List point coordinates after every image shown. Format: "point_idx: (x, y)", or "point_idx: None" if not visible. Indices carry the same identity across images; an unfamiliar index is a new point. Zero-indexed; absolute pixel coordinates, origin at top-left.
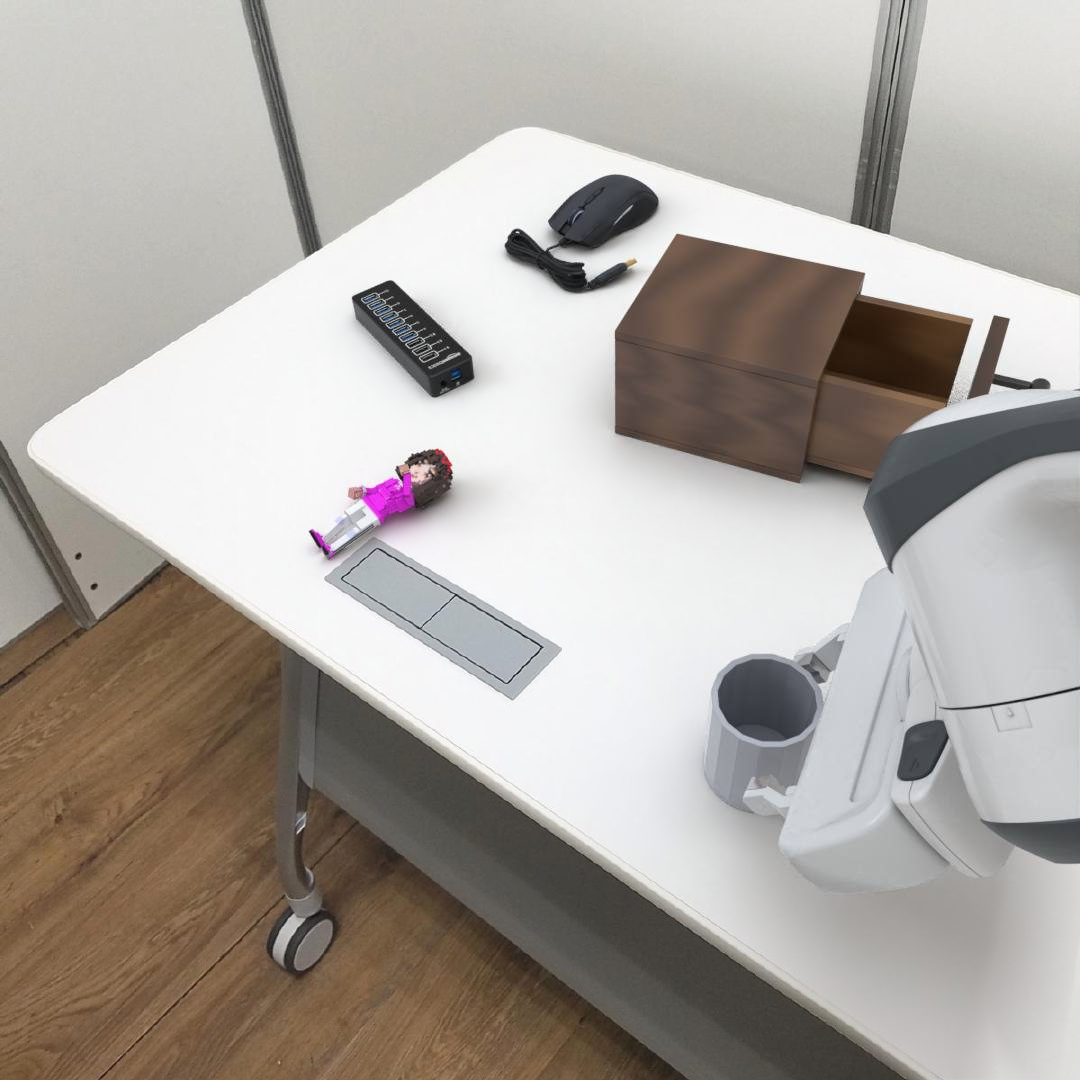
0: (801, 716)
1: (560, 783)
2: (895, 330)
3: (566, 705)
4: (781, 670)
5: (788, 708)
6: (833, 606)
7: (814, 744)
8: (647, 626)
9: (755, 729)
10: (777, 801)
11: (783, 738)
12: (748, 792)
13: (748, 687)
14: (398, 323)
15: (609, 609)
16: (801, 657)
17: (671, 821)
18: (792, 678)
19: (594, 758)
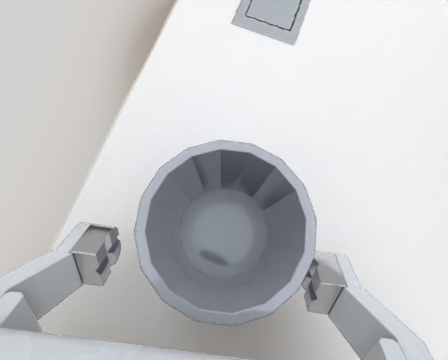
0: (261, 275)
1: (165, 77)
2: None
3: (239, 62)
4: (297, 239)
5: (272, 256)
6: (444, 280)
7: (47, 354)
8: (344, 106)
9: (261, 225)
10: (5, 278)
11: (259, 254)
12: (82, 228)
13: (277, 201)
14: None
15: (349, 71)
16: (333, 266)
17: (150, 170)
18: (291, 258)
19: (194, 96)
